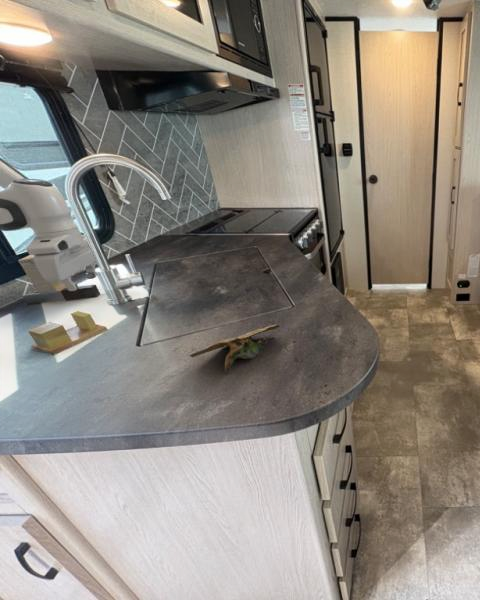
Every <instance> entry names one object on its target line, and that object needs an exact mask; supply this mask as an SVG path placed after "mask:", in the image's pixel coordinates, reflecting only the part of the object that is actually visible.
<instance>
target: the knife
mask: <svg viewBox="0 0 480 600" xmlns="http://www.w3.org/2000/svg"><path fill="white" fill-rule="evenodd" d="M78 287H79V288H78V289H77V290H75V291H69V290H68V288H64V289H62V290H61V291H53V292H44V293H38V292H35V293H27V294H22V295H21V297H22V299H23V300H24V301H25V303H26V305H32V304H43V303H49V302H60V301H65V302H67V301H75V300H84V299H91V298H98V297H99V296H100V295H101V292H100V291H99V288H98V286H97V284H89V285H88V284H87V285H78Z"/></svg>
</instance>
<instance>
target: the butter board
mask: <svg viewBox="0 0 480 600" xmlns="http://www.w3.org/2000/svg"><path fill="white" fill-rule="evenodd" d="M95 324H96V326H97V328H96V329H93V330H91V331H90V330H86V329H83V328H79V327H78V326H77V325H74V326H73V327H71V328H68V329H66V328H65V326H64V325H63V324H59V323H56V322H51V321H49V322H46V323H44V324H43V323H42V324H41V325H37V326H36V327H33V328H30V329H28V330H27V333H28V334H29V335H30V337H31V338H32V340H33V342H34V343H32V344H30V347H31V349H33V350H35V351H39V352H43V353H46V354H49V355H52V356H55V355H57V354H58V353H61V352H63V351H65V350H67V349H69V348H71V347H74V346H77V345H78V344H80V343H82V342H85V341H86V340H89V339H91V338H93V337H96V336H98V335H100V334H102V333H104V332H106V331H108V328H107V326H105V325H102V324H101V325H100V324H97V323H95Z"/></svg>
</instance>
